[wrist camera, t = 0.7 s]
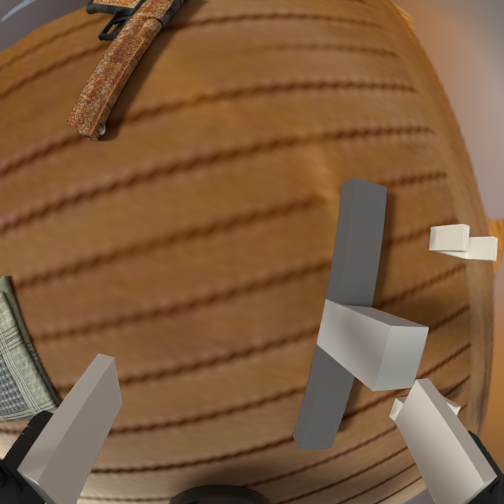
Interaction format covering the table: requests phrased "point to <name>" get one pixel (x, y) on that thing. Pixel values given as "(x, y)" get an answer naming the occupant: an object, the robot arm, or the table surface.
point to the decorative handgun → (118, 57)
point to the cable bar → (356, 323)
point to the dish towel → (20, 366)
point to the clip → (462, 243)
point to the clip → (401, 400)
